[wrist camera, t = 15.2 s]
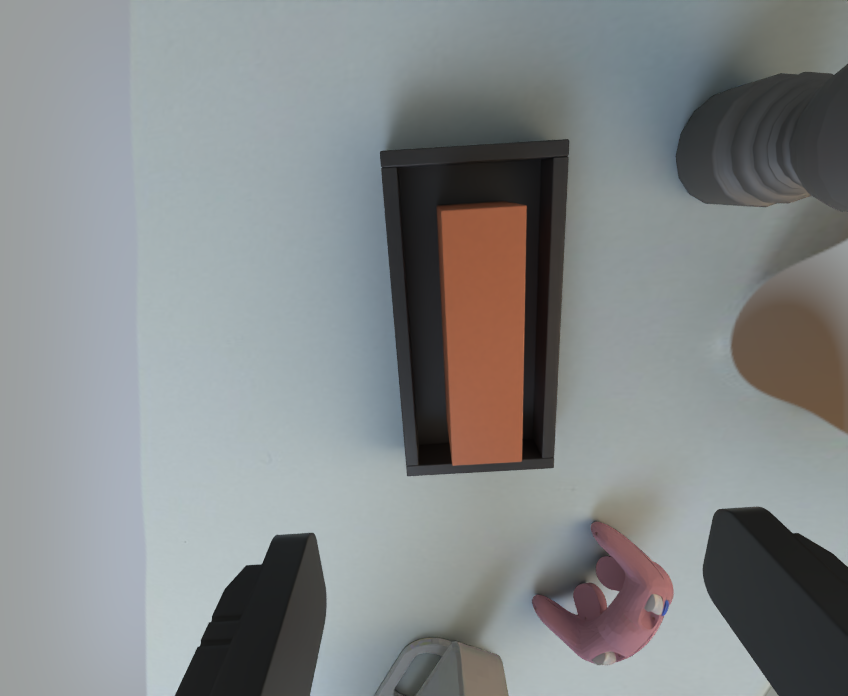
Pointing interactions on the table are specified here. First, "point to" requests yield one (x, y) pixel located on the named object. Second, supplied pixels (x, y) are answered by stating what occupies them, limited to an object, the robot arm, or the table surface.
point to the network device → (450, 670)
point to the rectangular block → (483, 328)
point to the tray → (421, 298)
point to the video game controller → (628, 613)
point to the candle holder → (770, 143)
